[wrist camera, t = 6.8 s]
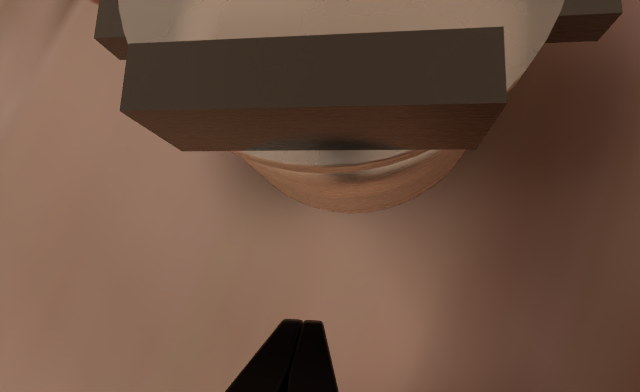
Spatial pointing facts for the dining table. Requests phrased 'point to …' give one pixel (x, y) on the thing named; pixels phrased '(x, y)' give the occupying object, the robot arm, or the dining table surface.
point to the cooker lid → (326, 75)
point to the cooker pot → (399, 178)
